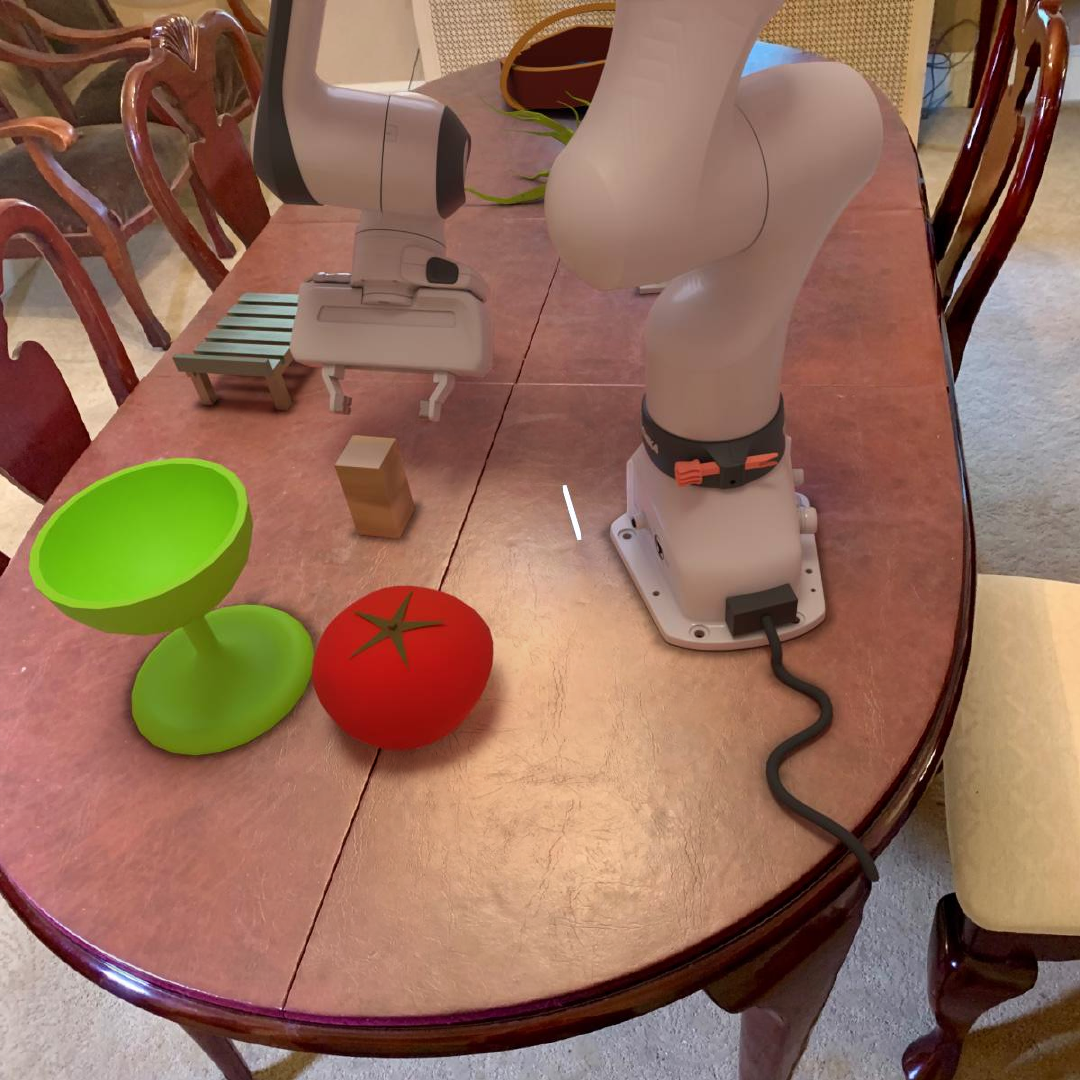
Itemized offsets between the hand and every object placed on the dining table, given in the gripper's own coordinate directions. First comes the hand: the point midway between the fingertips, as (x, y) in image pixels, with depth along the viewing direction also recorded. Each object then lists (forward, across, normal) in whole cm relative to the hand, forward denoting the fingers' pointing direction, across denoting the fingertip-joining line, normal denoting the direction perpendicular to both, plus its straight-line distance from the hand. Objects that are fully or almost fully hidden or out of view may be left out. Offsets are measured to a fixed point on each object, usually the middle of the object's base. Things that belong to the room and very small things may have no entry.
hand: (383, 417), depth 91 cm
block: (+10, 0, +3) cm, 10 cm away
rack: (-7, -25, +20) cm, 32 cm away
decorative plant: (-40, -2, +54) cm, 67 cm away
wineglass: (+25, -7, -12) cm, 28 cm away
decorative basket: (-70, -3, +84) cm, 109 cm away
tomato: (+25, +11, -12) cm, 29 cm away
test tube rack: (-30, +17, +44) cm, 56 cm away
